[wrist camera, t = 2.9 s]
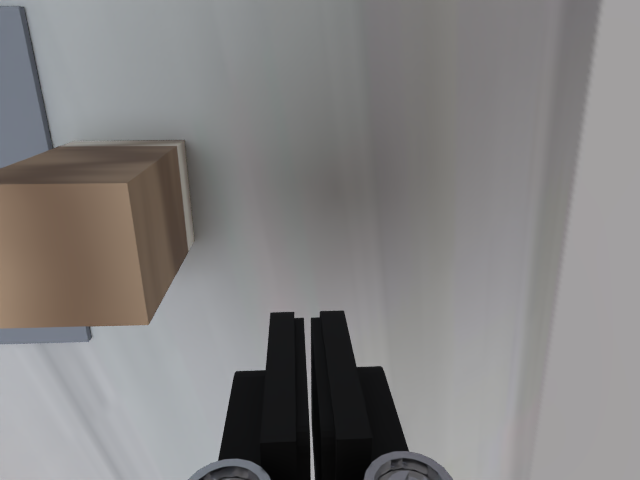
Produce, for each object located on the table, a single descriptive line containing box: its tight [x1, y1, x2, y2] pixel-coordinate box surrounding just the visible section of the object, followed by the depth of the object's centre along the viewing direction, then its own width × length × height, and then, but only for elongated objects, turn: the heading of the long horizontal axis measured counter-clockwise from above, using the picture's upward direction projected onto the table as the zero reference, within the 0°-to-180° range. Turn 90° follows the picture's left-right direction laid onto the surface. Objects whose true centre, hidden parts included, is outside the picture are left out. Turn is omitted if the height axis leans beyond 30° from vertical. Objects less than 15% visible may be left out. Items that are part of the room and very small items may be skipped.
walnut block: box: [0, 140, 195, 329], centre depth 19 cm, size 5×5×8 cm
